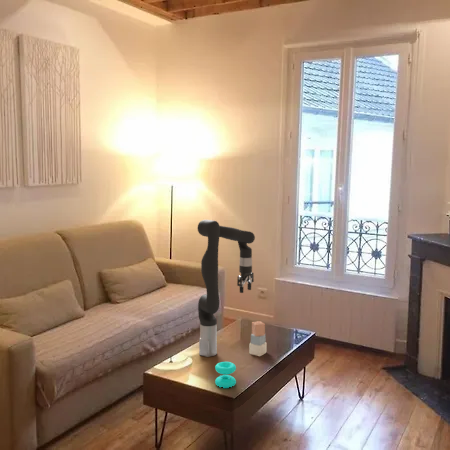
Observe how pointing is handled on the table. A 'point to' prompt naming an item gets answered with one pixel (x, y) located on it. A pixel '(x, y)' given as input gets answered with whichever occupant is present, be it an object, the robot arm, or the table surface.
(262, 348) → the cream base block
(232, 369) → the donuts
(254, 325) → the terracotta block
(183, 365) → the table surface
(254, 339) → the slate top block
